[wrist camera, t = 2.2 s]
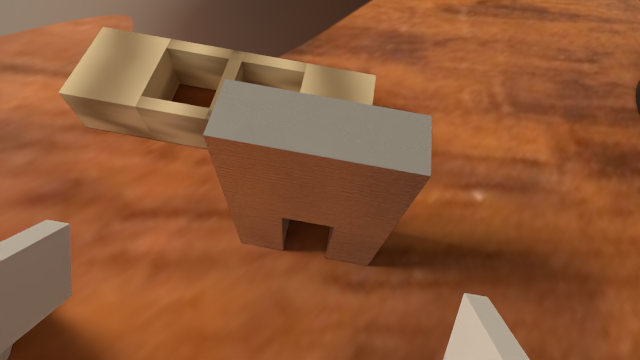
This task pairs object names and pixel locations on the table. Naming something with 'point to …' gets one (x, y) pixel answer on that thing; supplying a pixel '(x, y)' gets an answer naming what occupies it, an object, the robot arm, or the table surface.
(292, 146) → the grey notched block
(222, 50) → the beige open box
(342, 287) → the table surface
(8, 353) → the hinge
